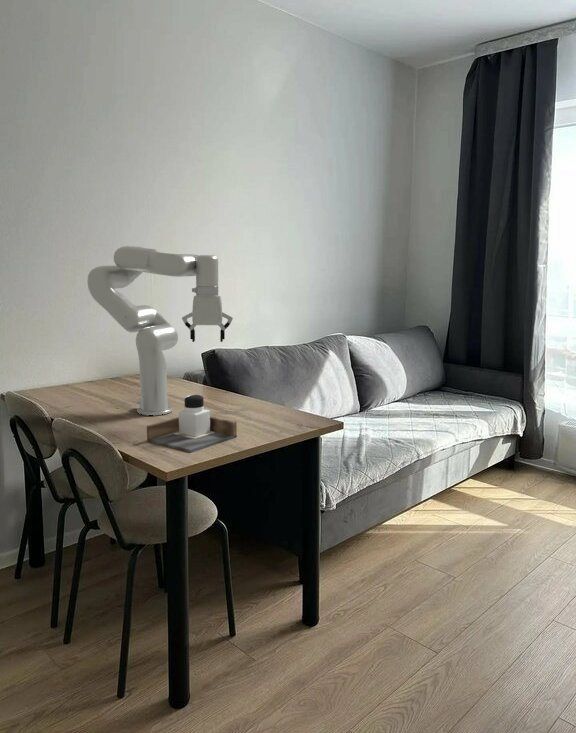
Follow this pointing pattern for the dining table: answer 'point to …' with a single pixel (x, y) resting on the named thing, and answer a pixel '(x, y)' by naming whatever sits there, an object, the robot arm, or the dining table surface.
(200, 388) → the dining table surface
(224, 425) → the tray
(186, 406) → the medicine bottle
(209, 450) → the dining table surface
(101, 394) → the dining table surface
